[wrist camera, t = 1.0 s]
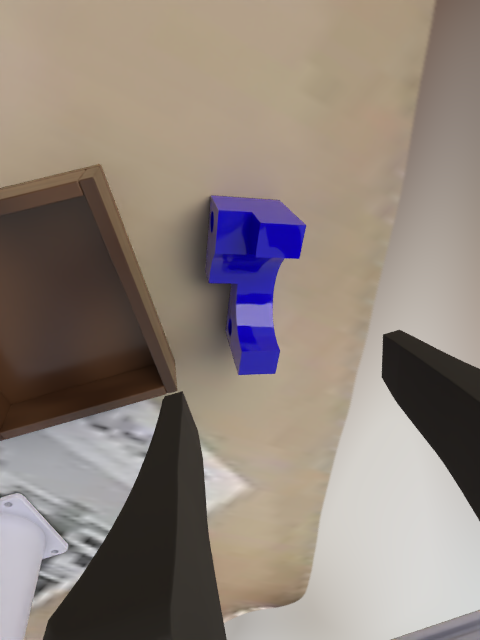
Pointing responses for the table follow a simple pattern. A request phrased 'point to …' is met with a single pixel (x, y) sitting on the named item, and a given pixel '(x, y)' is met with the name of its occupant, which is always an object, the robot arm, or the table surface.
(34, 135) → the table surface
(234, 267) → the cable holder
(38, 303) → the box
